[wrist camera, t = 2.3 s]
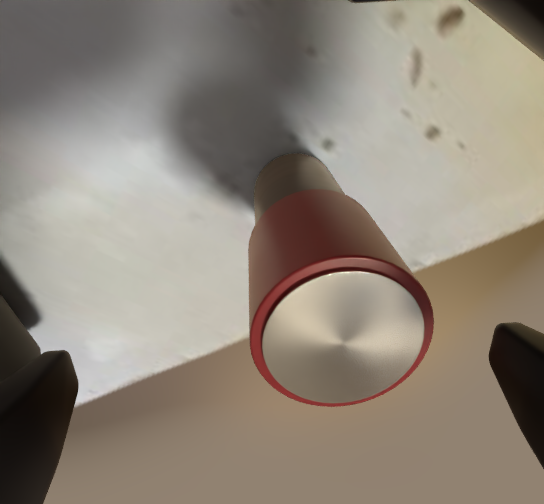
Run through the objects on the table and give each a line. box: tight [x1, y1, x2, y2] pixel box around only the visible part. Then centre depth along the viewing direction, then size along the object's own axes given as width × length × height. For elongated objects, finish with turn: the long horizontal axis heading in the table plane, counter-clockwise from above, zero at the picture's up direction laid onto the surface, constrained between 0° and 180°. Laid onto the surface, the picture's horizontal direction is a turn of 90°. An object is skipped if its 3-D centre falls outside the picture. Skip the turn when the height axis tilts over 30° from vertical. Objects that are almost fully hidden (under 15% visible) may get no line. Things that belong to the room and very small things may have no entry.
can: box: [248, 189, 434, 407], centre depth 13 cm, size 5×5×5 cm
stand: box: [254, 153, 345, 225], centre depth 18 cm, size 4×4×6 cm
